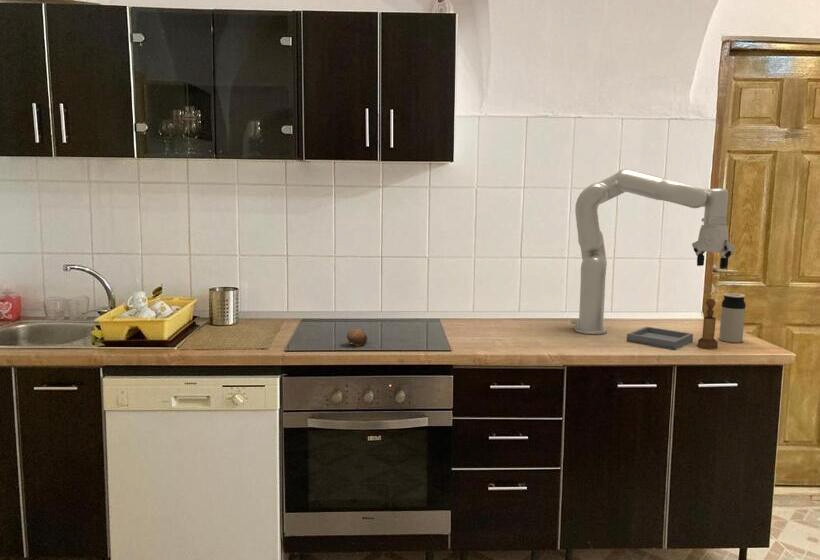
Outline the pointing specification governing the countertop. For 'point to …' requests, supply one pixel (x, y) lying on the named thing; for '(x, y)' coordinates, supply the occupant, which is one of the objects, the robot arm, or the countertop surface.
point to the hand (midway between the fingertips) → (711, 266)
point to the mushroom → (357, 337)
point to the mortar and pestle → (708, 328)
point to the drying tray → (660, 338)
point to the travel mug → (732, 318)
